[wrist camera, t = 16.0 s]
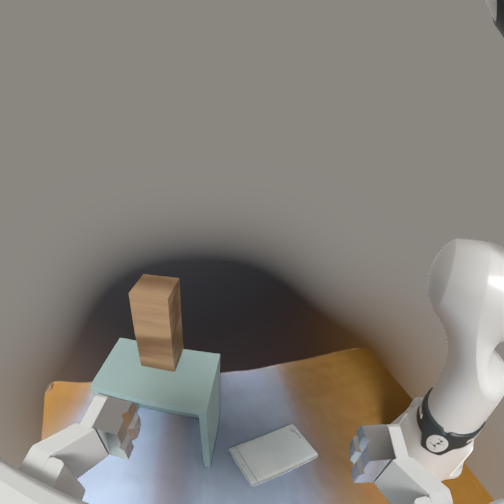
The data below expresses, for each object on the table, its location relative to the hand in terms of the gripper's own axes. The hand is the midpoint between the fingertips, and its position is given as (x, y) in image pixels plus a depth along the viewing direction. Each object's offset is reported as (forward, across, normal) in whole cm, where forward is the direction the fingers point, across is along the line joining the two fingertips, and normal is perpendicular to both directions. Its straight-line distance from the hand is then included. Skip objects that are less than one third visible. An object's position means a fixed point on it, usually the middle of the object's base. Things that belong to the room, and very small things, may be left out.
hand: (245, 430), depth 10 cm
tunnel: (+22, +13, +38) cm, 46 cm away
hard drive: (+21, -5, +39) cm, 44 cm away
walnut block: (+26, +13, +22) cm, 36 cm away
